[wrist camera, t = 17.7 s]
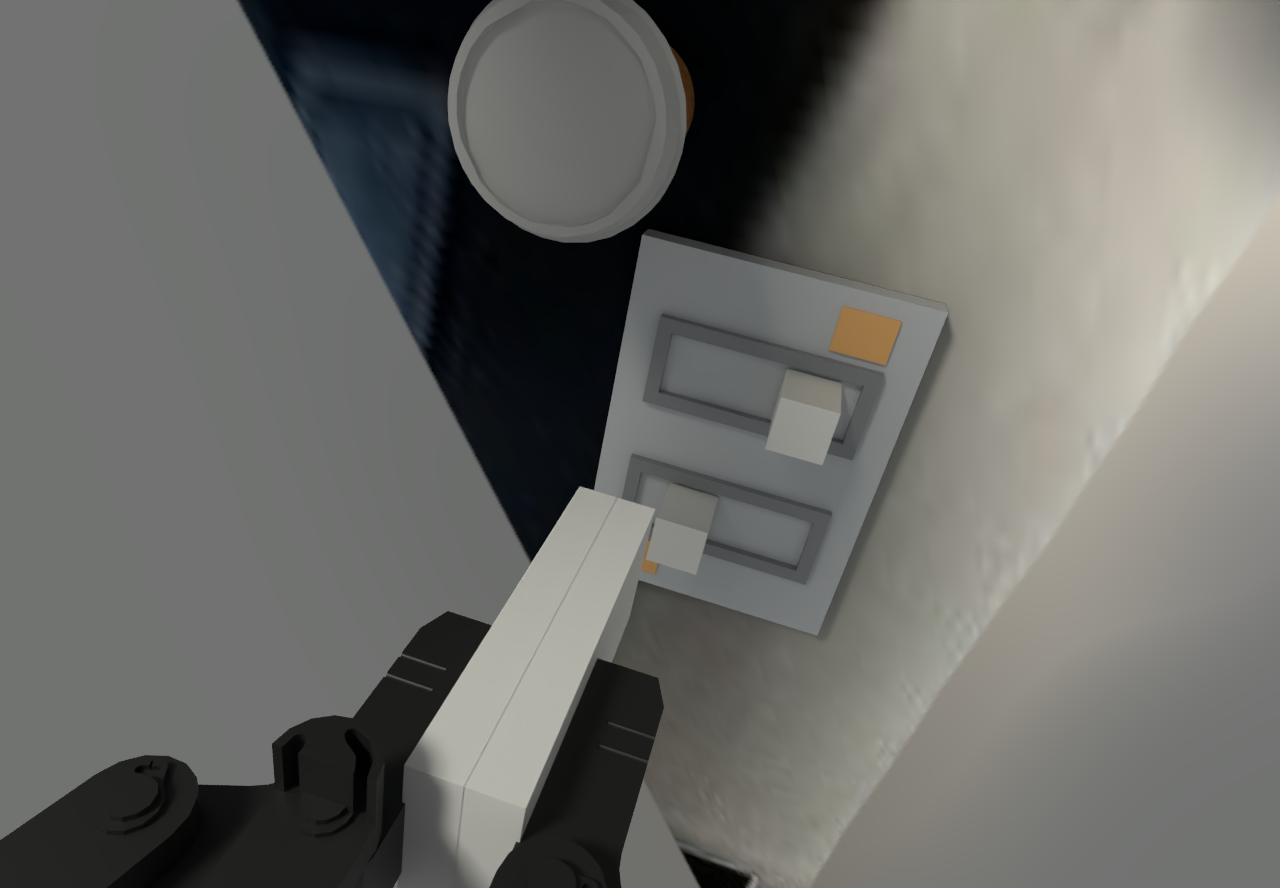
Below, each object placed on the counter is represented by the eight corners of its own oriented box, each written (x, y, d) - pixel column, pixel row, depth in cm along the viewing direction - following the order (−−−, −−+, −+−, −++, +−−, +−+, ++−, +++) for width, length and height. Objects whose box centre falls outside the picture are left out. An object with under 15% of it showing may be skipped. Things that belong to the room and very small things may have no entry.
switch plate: (587, 549, 52) (578, 566, 51) (648, 228, 42) (640, 236, 40) (818, 620, 50) (816, 641, 49) (945, 304, 40) (949, 315, 38)
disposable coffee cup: (633, 236, 42) (561, 297, 32) (509, 99, 40) (390, 115, 30) (767, 105, 38) (734, 125, 27) (634, -56, 36) (544, -100, 25)
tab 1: (660, 522, 48) (646, 559, 44) (670, 482, 46) (656, 517, 43) (707, 536, 47) (695, 575, 44) (718, 497, 46) (707, 533, 43)
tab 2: (772, 416, 43) (764, 449, 39) (786, 368, 41) (780, 397, 38) (824, 431, 42) (822, 465, 39) (841, 383, 41) (840, 413, 38)
